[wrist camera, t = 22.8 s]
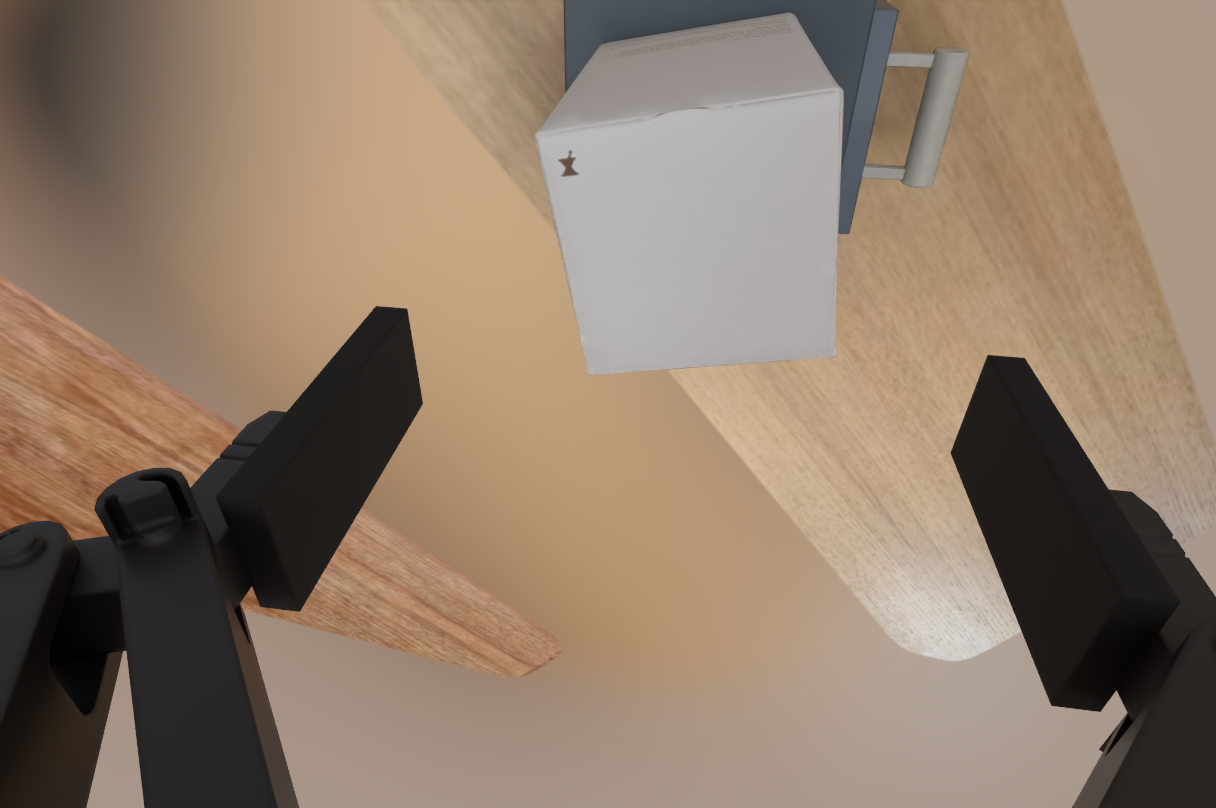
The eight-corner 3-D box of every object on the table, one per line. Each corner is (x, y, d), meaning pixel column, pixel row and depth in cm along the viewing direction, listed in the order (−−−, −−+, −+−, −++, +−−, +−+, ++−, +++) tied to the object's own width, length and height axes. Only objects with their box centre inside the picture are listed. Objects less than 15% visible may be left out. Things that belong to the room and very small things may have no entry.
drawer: (955, -8, 37) (1001, 12, 31) (904, 189, 43) (934, 240, 37) (634, -18, 39) (616, -1, 33) (628, 173, 45) (612, 219, 39)
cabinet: (847, -26, 38) (877, -5, 31) (808, 189, 45) (825, 250, 37) (594, -34, 40) (563, -16, 32) (593, 176, 46) (567, 233, 39)
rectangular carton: (625, 226, 38) (578, 383, 26) (597, 41, 33) (522, 128, 21) (803, 207, 36) (841, 367, 24) (801, 8, 31) (847, 82, 19)
